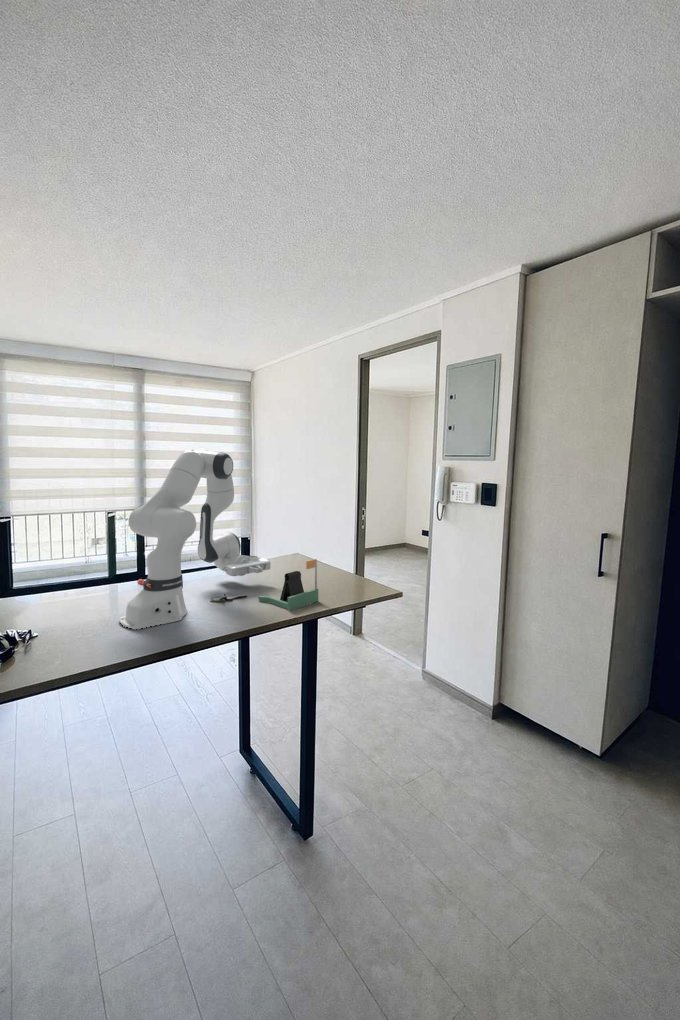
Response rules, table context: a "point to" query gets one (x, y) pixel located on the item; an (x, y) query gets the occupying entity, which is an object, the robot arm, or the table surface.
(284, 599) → the door stopper
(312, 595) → the putting pocket
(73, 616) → the table surface
